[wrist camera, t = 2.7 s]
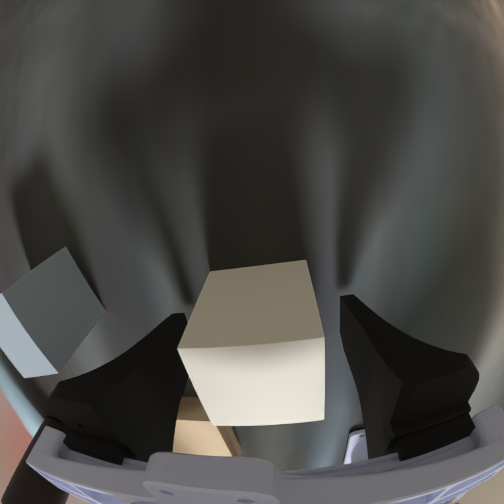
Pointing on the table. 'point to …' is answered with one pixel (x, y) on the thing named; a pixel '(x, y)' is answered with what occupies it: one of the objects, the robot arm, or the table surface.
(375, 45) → the table surface
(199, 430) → the oak slab
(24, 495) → the bottle
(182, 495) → the robot arm
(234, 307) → the cream block
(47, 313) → the slate block
